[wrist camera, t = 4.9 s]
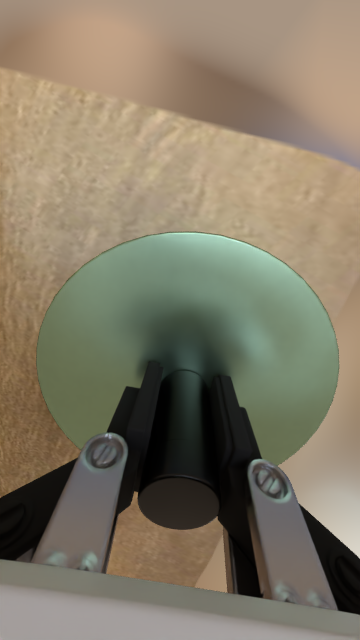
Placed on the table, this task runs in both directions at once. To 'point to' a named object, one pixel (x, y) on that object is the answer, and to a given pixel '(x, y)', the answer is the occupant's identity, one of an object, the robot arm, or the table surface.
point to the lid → (188, 357)
